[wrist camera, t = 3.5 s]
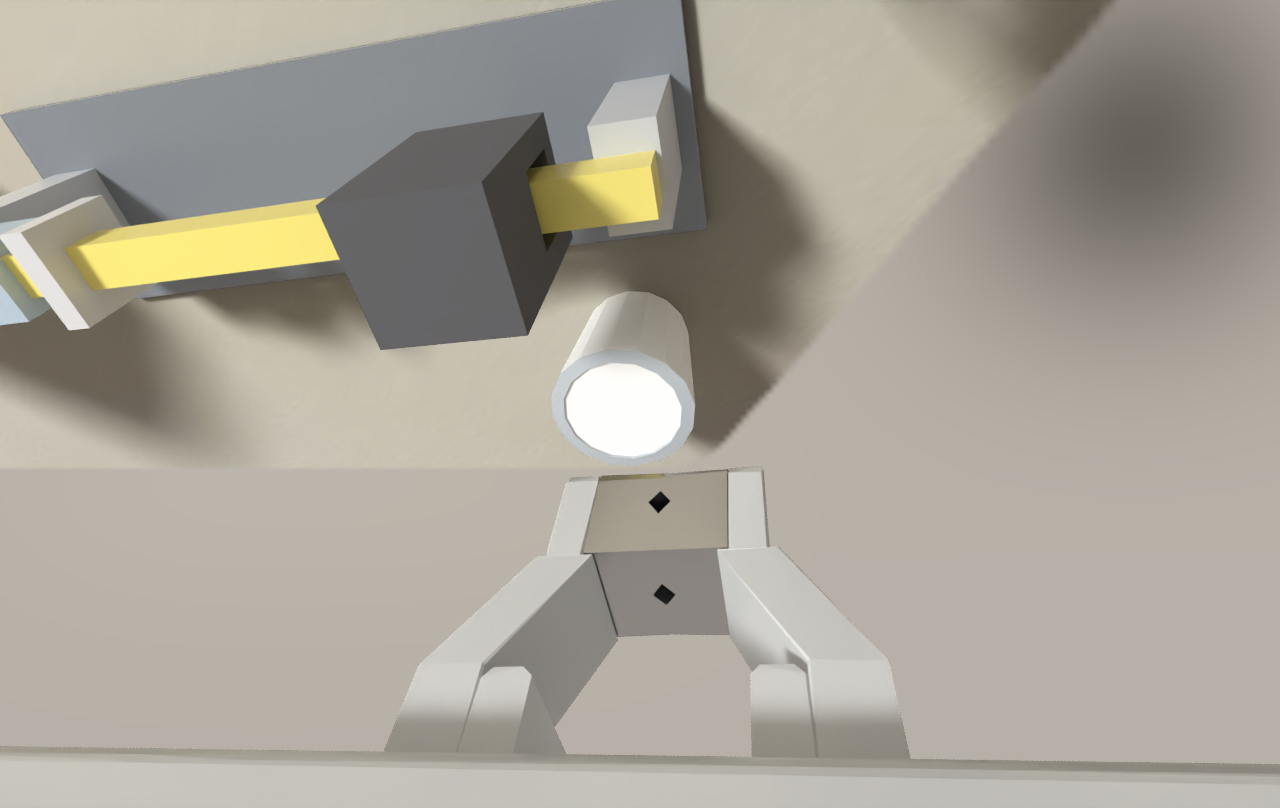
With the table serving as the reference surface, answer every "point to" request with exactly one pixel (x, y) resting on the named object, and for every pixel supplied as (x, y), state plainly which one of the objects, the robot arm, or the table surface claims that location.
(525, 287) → the sleeve
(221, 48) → the table surface
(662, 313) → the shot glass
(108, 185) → the yellow beam on plate
